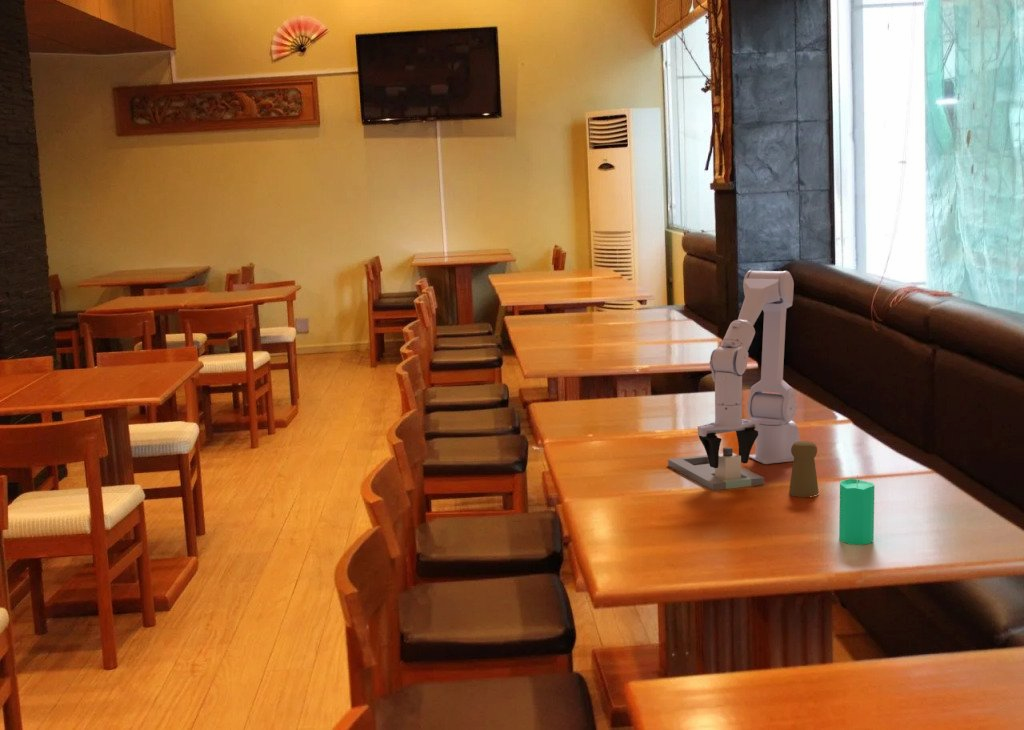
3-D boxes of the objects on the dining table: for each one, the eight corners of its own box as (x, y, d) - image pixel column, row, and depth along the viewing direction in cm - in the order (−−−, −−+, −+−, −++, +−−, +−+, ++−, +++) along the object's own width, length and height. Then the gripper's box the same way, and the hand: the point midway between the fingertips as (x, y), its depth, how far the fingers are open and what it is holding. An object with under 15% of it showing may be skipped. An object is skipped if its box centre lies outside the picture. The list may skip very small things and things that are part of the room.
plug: (730, 478, 252) (730, 445, 250) (741, 482, 248) (741, 449, 247) (714, 481, 250) (714, 447, 249) (725, 485, 246) (725, 451, 245)
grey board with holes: (715, 460, 268) (715, 454, 267) (763, 484, 246) (763, 477, 246) (668, 465, 264) (668, 459, 264) (712, 490, 243) (712, 483, 242)
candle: (834, 535, 210) (834, 471, 208) (865, 533, 211) (866, 470, 209) (846, 545, 204) (847, 480, 202) (879, 543, 205) (880, 478, 203)
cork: (819, 498, 234) (820, 445, 233) (789, 497, 236) (789, 445, 234) (818, 490, 240) (818, 438, 238) (788, 489, 241) (788, 438, 240)
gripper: (745, 396, 252) (745, 456, 254) (689, 403, 246) (690, 465, 249) (765, 401, 246) (765, 463, 248) (708, 409, 240) (708, 472, 242)
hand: (728, 464), depth 248 cm, fingers open, 7 cm apart
